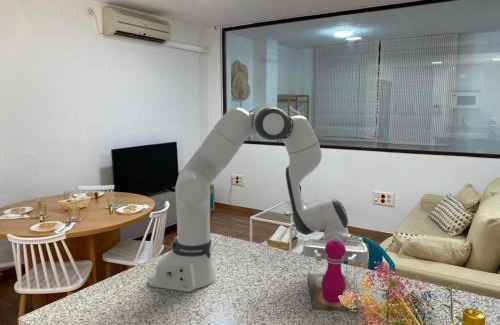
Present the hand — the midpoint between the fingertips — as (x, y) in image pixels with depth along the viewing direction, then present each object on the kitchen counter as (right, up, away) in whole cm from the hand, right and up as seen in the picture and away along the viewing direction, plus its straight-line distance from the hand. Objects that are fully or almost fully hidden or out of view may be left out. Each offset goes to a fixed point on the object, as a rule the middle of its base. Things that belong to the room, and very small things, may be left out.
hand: (334, 260), depth 112 cm
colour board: (+1, -13, +9) cm, 16 cm away
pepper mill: (0, -13, +3) cm, 13 cm away
